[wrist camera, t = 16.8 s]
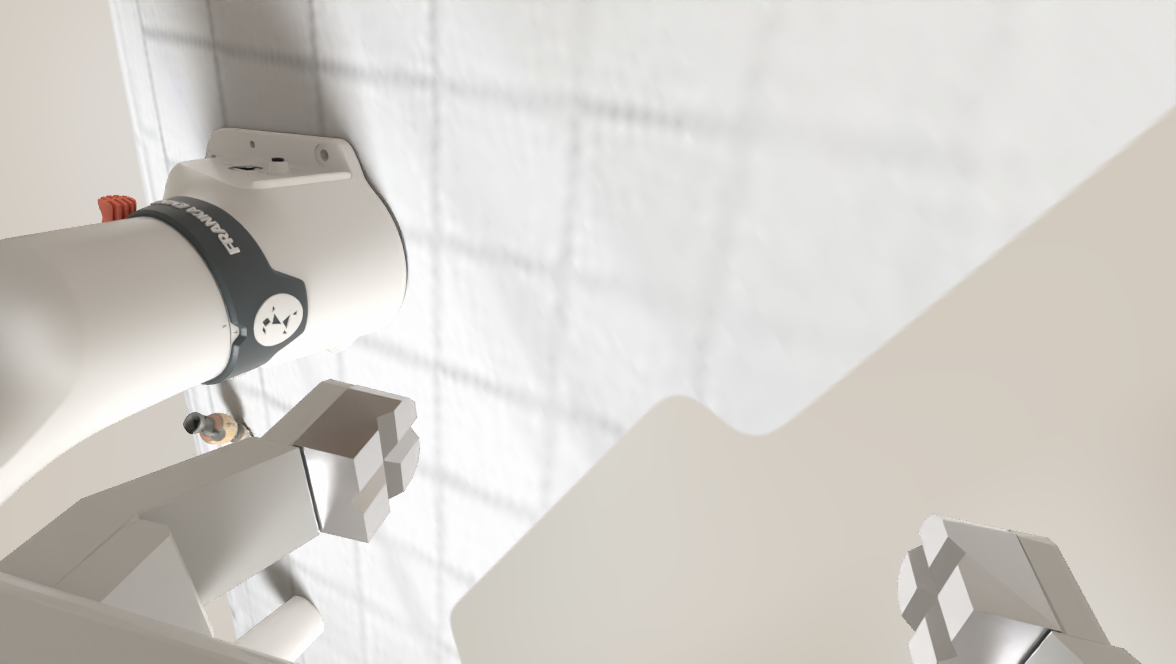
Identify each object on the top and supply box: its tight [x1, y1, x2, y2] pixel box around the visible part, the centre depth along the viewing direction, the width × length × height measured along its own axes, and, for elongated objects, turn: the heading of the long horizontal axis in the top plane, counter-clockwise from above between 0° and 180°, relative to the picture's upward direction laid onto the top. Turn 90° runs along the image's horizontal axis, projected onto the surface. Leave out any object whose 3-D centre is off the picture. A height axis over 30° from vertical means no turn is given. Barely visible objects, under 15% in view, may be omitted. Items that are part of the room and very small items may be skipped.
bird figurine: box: [183, 410, 251, 444], centre depth 63 cm, size 5×5×6 cm
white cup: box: [233, 596, 324, 662], centre depth 70 cm, size 7×7×10 cm
